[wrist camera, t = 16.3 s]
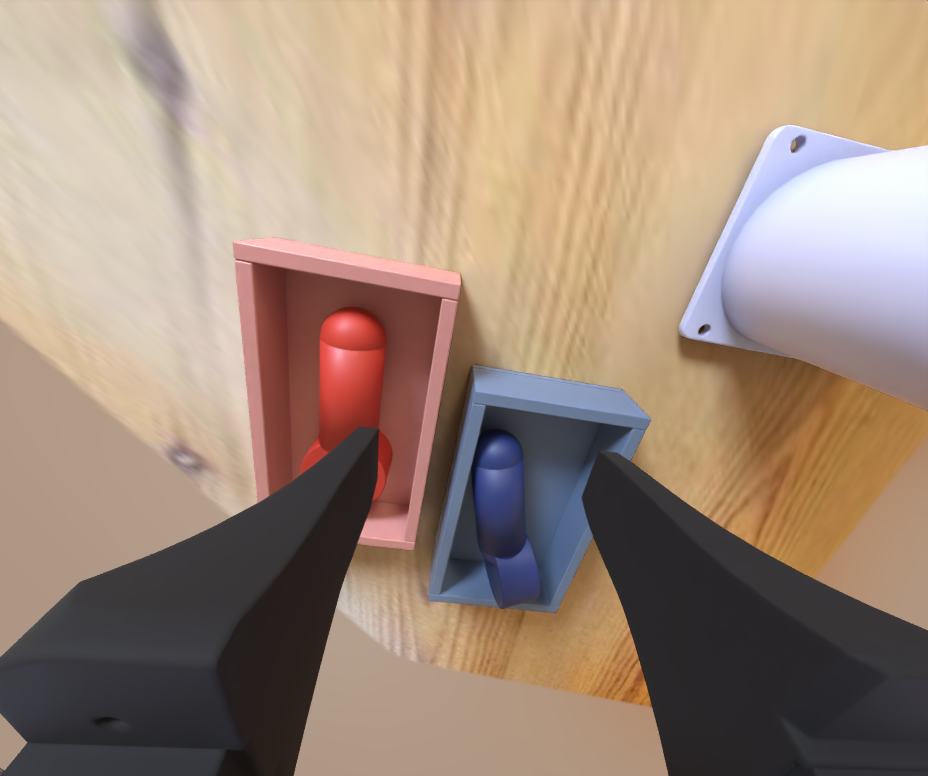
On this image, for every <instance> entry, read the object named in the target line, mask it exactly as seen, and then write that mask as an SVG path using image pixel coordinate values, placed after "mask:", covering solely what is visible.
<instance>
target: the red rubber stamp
mask: <svg viewBox="0 0 928 776" xmlns="http://www.w3.org/2000/svg"><path fill="white" fill-rule="evenodd" d="M385 353H386V333H385V329H384V327H383V325H382V323H381V322H380V320H379V319H378V318H377V317H376V316H375V315H374V314H373V313H371V312H369V311H368V310H366V309H363V308H359V307H344V308H341V309H338V310H336V311H335V312H333V313H331V314H330V315H329V316H328V317H327V318H326V320H325V321H324V323H323V325H322V328H321V332H320V391H319V435H318V437H317V438H316V440H315V442H314V443H313V445H312V446H311V448H310V449H309V451H308V452H307V454H306V455H305V457H304V459H303V461H302V464H301V474H302V473H304V472H305V471H306V470H308V469H309V468H310V467H312V466H313V465H314V464H316V463H317V462H318V461H319V460H320V459H322V458H323V457H324V456H325V455H327V454H328V453H329V452H330V451H331V450H333V449H334V448H335V447H336V446H337V445H338V444H339V443H341V442H342V441H343V440H344V439H345V438H346V437H347V436H349V435H350V434H351V433H352V432H353V431H354V430H355V429H356V428H358V427H359V426H364V427H374V428H379V418H380V407H381V396H382V385H383V375H384V364H385ZM392 458H393V453H392V448H391V445H390V442H389V441H388V439H387V437H386V436H385V435H384V434H383V433H382V432H381V431H380V430H379V451H378V479H377V484H376V488H375V492H374V496H373V500H372V502H373V501H374V500H376V499H377V498H378V497H379V496H380V495H381V493H382V492H383V490H384V488H385V485H386V481H387V477H388V474H389V470H390V466H391V463H392Z"/></svg>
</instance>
